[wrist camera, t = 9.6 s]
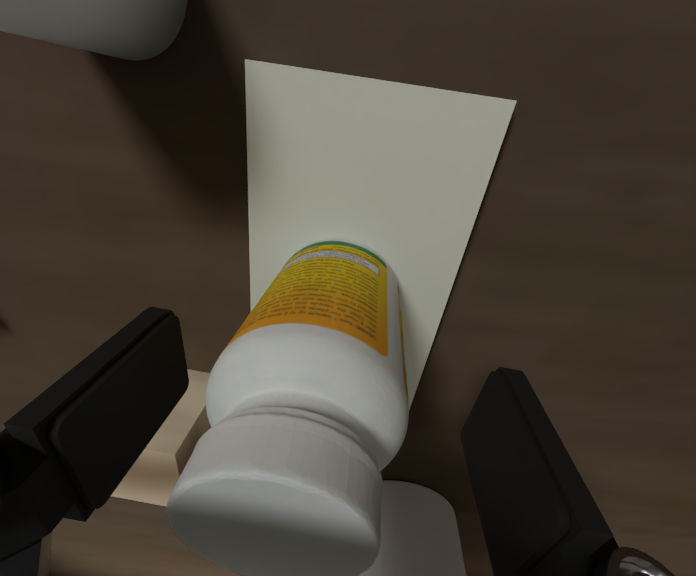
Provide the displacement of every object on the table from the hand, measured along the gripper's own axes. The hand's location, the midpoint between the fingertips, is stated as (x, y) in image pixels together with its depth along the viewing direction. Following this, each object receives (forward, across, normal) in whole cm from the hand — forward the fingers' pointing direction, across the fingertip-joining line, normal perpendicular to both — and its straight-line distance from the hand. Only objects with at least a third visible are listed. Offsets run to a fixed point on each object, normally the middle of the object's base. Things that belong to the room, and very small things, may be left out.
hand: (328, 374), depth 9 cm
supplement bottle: (+6, 0, 0) cm, 6 cm away
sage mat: (+6, 0, 0) cm, 6 cm away
